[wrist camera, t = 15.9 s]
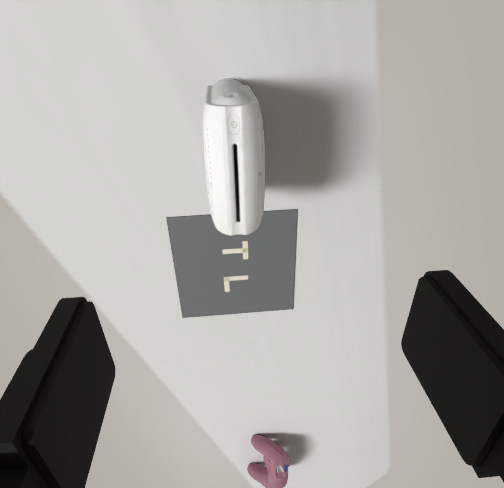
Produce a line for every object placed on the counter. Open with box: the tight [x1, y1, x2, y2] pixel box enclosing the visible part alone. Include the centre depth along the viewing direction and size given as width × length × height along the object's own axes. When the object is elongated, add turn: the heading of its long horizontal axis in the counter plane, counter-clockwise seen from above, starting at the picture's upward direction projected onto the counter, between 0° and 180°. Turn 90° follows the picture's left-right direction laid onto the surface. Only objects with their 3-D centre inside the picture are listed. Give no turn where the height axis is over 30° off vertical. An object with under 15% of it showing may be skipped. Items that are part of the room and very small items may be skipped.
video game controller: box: [247, 435, 290, 488], centre depth 60 cm, size 10×5×7 cm, turn 176°
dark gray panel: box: [166, 209, 297, 318], centre depth 42 cm, size 14×14×1 cm
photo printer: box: [203, 79, 265, 236], centre depth 29 cm, size 10×4×12 cm, turn 1°
